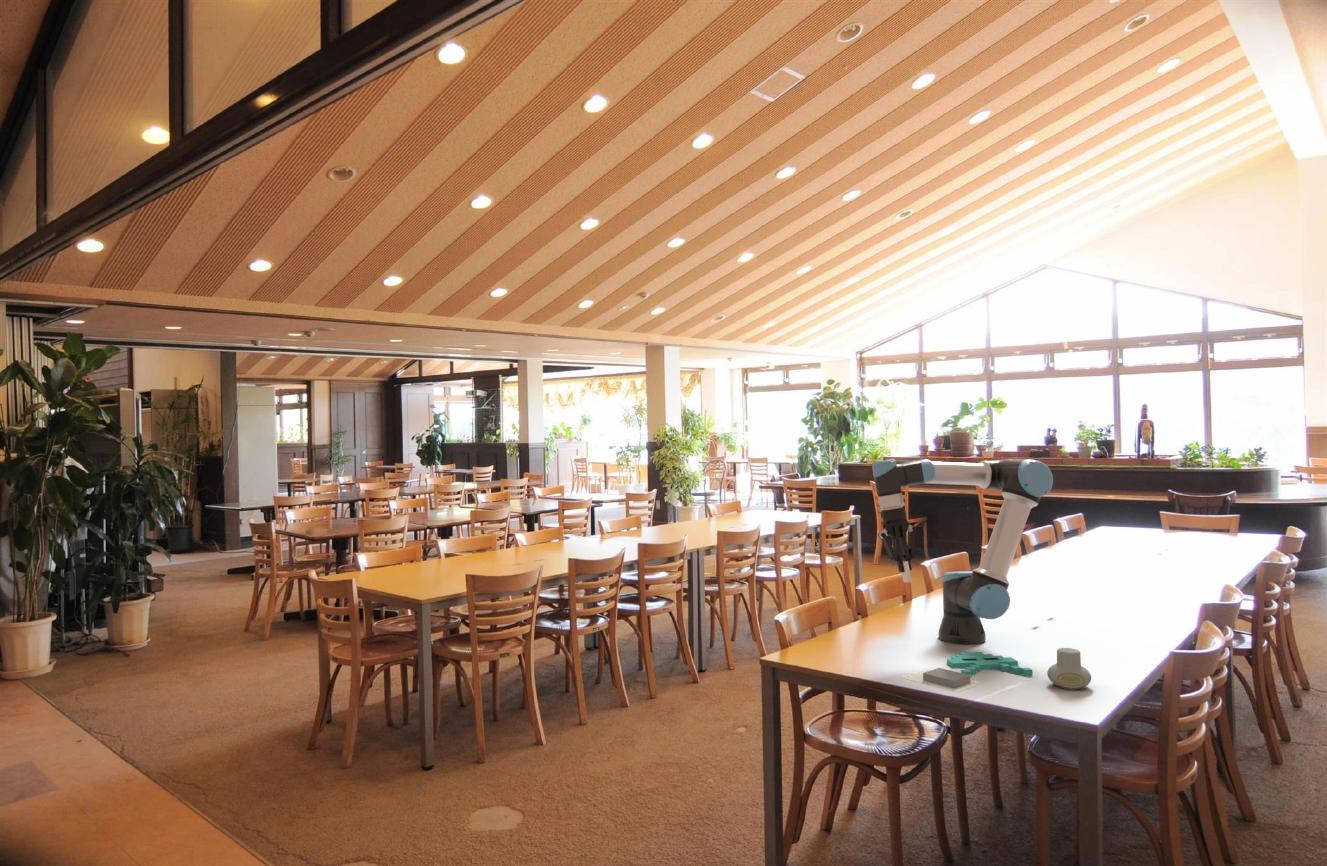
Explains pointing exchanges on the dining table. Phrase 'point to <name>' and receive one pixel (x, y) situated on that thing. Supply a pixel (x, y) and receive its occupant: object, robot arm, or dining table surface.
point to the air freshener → (1069, 670)
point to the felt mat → (919, 678)
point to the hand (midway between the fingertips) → (907, 581)
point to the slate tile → (946, 677)
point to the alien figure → (986, 663)
